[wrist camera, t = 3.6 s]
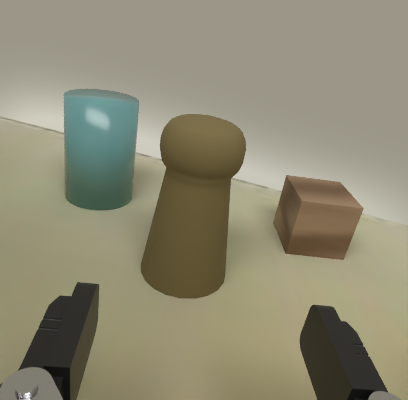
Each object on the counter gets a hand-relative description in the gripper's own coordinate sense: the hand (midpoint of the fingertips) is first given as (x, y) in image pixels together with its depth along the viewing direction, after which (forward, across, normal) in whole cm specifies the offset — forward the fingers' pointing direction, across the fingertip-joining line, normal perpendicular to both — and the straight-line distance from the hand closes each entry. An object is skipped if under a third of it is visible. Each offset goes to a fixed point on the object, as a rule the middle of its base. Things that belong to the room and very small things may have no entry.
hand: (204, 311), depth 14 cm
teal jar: (+21, +8, +7) cm, 24 cm away
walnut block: (+17, -11, +7) cm, 21 cm away
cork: (+11, 0, +7) cm, 13 cm away
